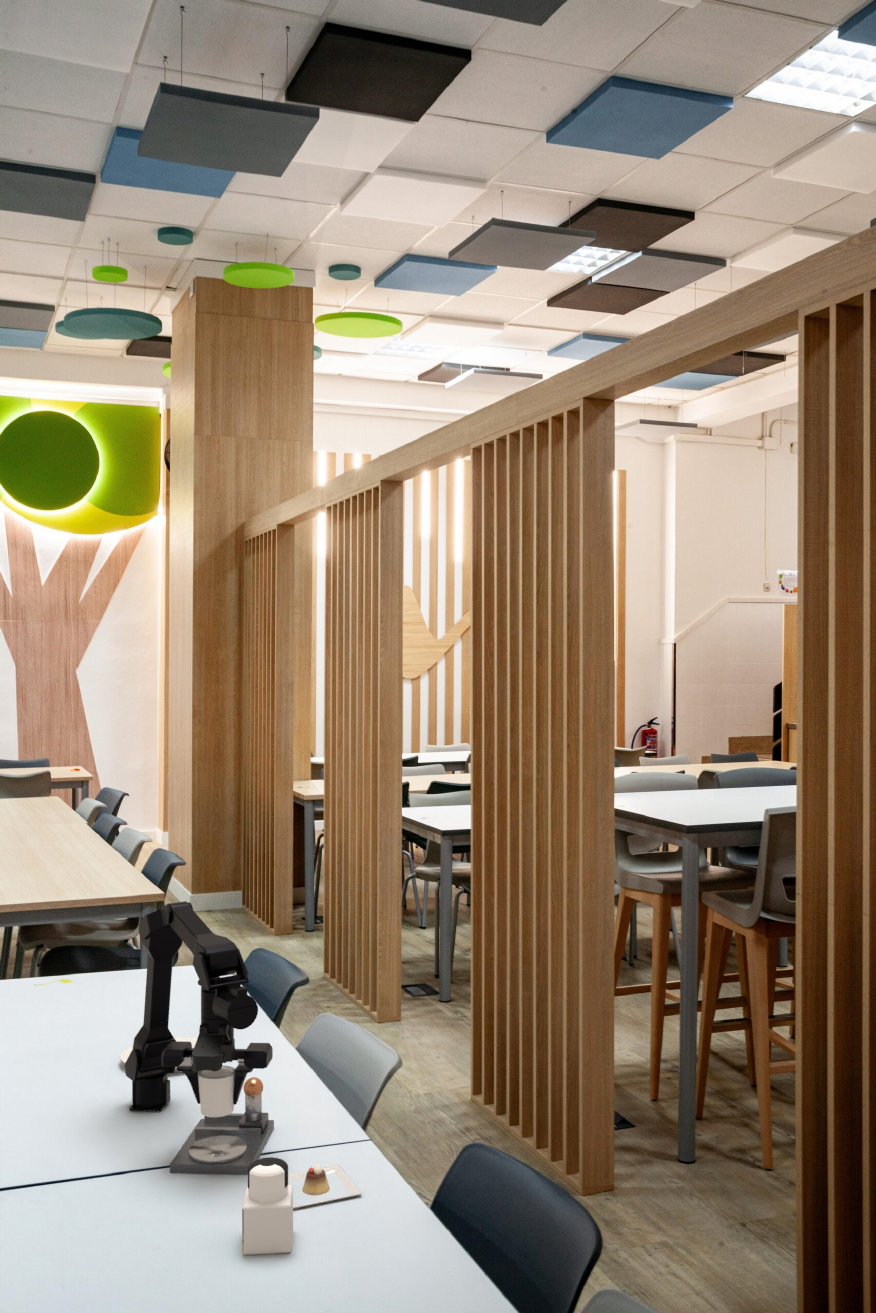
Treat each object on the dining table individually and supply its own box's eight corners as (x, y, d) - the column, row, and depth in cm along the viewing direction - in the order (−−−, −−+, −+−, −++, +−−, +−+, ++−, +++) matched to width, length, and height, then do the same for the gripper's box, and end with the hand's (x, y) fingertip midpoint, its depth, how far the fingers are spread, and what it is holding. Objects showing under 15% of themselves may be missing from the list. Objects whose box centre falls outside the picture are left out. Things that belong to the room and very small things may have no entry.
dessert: (271, 1184, 192) (271, 1155, 192) (338, 1171, 196) (338, 1143, 197) (291, 1215, 181) (290, 1184, 181) (362, 1200, 186) (361, 1170, 186)
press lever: (238, 1131, 208) (238, 1082, 208) (244, 1121, 213) (244, 1073, 213) (262, 1131, 208) (262, 1082, 208) (268, 1121, 213) (267, 1073, 213)
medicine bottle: (246, 1232, 174) (246, 1153, 174) (293, 1230, 175) (292, 1151, 175) (242, 1255, 167) (242, 1173, 167) (291, 1253, 167) (290, 1171, 168)
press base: (169, 1172, 195) (169, 1157, 195) (200, 1126, 215) (200, 1112, 215) (250, 1174, 194) (250, 1158, 194) (273, 1127, 214) (273, 1113, 214)
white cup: (228, 1119, 196) (228, 1079, 196) (191, 1116, 198) (191, 1076, 198) (242, 1105, 203) (242, 1065, 203) (206, 1102, 204) (206, 1063, 204)
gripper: (151, 1028, 193) (151, 1120, 193) (259, 1029, 192) (259, 1122, 192) (170, 1008, 204) (170, 1095, 204) (273, 1010, 203) (273, 1097, 203)
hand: (217, 1103), depth 200 cm, fingers closed on white cup, 6 cm apart
